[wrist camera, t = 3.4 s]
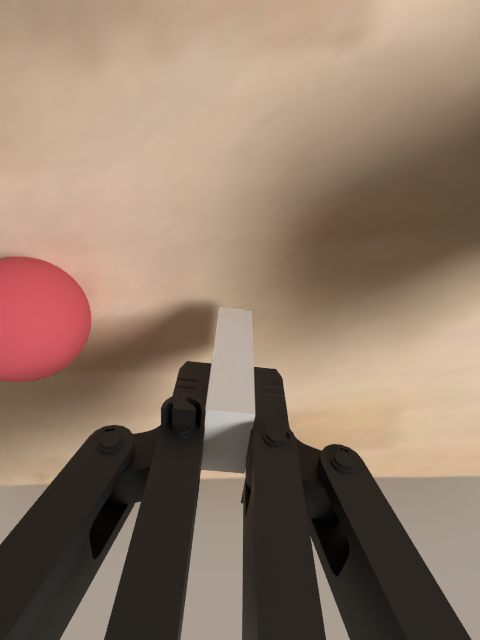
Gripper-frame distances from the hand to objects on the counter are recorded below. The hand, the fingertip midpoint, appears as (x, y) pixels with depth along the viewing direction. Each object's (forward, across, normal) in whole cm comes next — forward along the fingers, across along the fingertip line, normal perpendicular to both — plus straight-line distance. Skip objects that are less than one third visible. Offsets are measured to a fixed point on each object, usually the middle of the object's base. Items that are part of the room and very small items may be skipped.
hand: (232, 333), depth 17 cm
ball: (-1, -9, 0) cm, 9 cm away
